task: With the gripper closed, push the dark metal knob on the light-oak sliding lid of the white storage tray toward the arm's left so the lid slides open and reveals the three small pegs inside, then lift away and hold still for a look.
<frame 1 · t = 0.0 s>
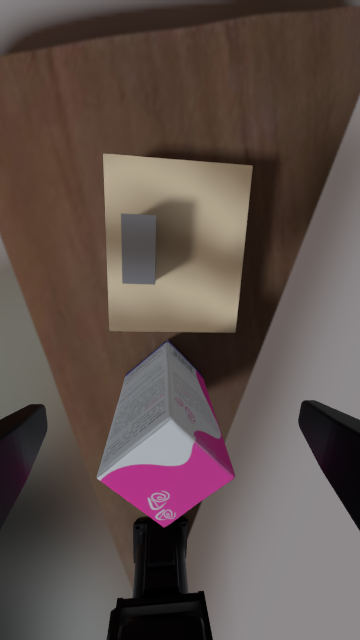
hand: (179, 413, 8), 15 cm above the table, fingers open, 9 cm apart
supplement box: (164, 375, 24), on the table
lid: (177, 252, 16), point 5 cm above the table, slide at 0.0 cm
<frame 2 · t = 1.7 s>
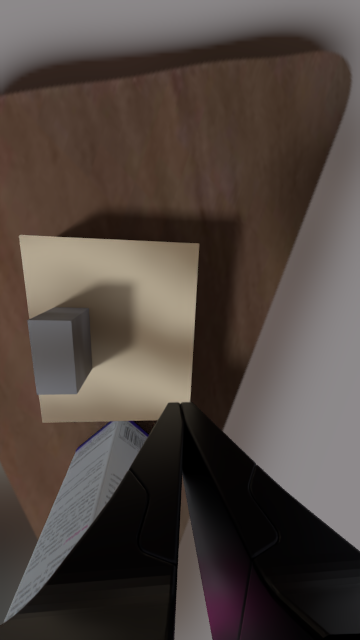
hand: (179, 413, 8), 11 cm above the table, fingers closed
supplement box: (121, 447, 22), on the table
lid: (111, 345, 14), point 5 cm above the table, slide at 0.0 cm
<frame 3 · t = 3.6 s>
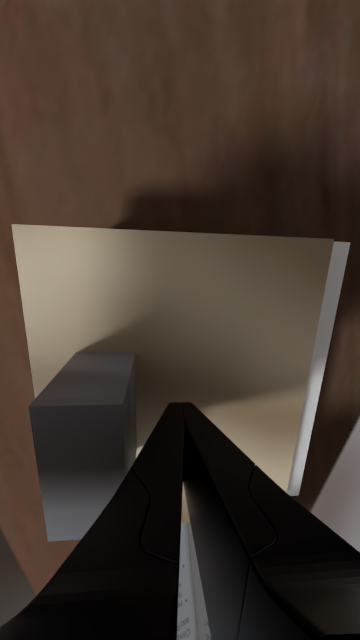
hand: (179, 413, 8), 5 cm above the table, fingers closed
supplement box: (179, 523, 16), on the table
lid: (179, 422, 8), point 5 cm above the table, slide at 1.3 cm, touching gripper
white storage tray: (196, 359, 13), on the table
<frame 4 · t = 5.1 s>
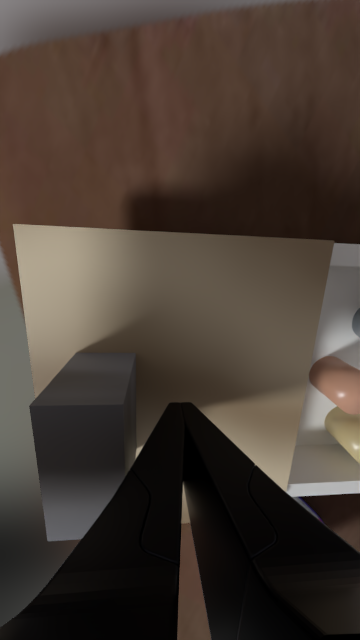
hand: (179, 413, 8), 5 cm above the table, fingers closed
lid: (179, 422, 8), point 5 cm above the table, slide at 7.5 cm, touching gripper
white storage tray: (304, 359, 13), on the table
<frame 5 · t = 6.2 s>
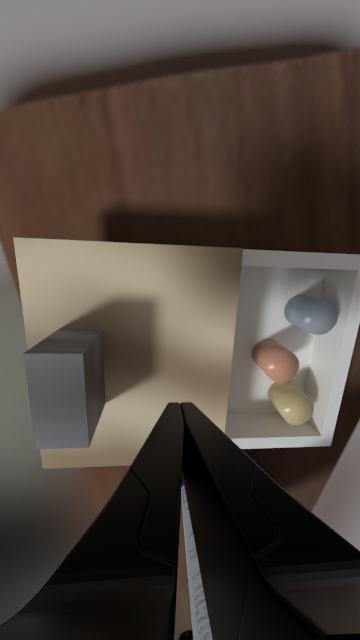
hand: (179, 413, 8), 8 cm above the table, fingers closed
supplement box: (226, 479, 20), on the table
lid: (132, 378, 11), point 5 cm above the table, slide at 7.5 cm
white storage tray: (249, 342, 16), on the table
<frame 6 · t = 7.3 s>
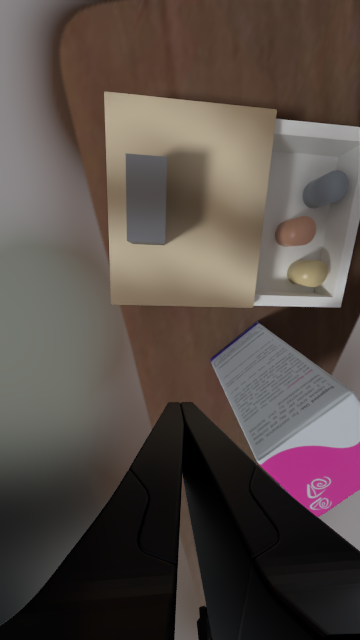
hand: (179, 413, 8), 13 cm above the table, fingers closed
supplement box: (249, 360, 23), on the table
lid: (190, 210, 14), point 5 cm above the table, slide at 7.5 cm
white storage tray: (272, 227, 20), on the table
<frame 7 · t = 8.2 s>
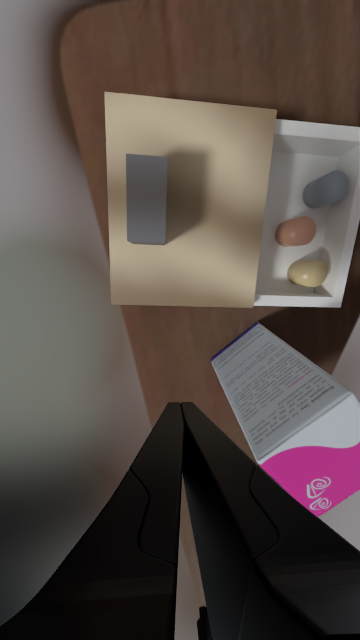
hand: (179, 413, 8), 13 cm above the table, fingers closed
supplement box: (249, 360, 23), on the table
lid: (190, 210, 14), point 5 cm above the table, slide at 7.5 cm
white storage tray: (272, 227, 20), on the table
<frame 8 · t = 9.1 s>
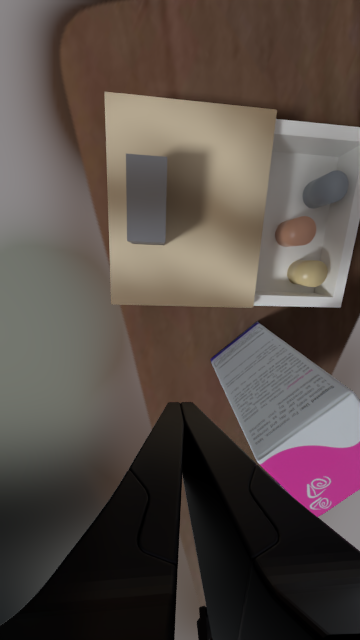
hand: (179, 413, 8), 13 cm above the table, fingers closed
supplement box: (249, 360, 23), on the table
lid: (190, 210, 14), point 5 cm above the table, slide at 7.5 cm
white storage tray: (272, 227, 20), on the table
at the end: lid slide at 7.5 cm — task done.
